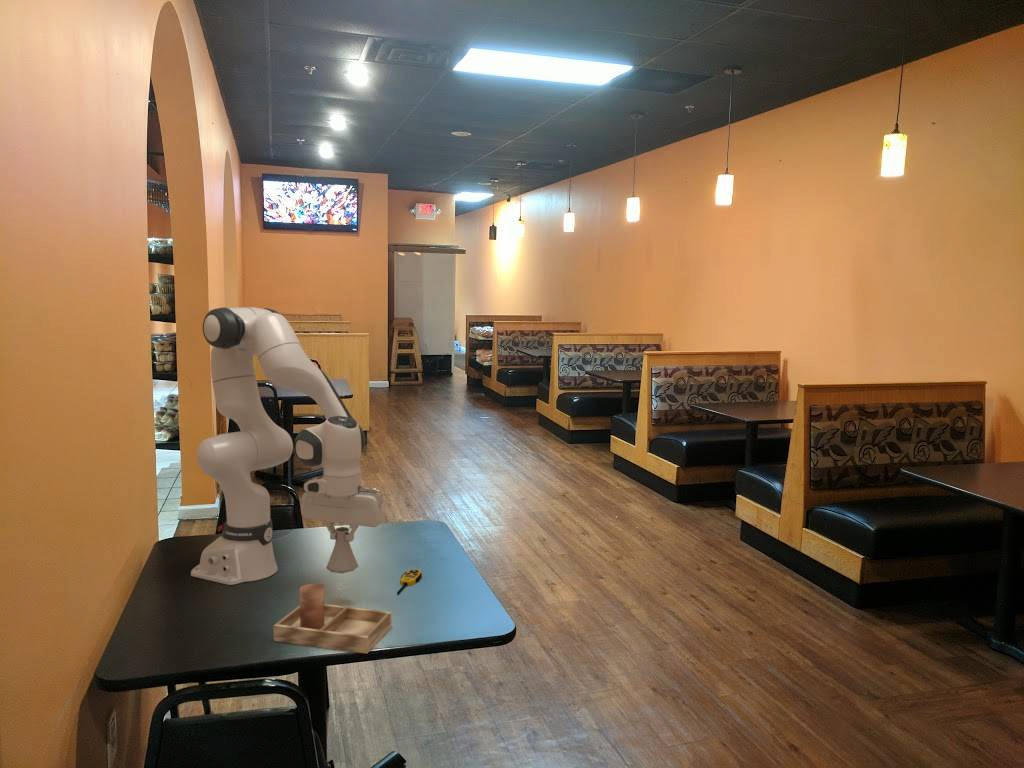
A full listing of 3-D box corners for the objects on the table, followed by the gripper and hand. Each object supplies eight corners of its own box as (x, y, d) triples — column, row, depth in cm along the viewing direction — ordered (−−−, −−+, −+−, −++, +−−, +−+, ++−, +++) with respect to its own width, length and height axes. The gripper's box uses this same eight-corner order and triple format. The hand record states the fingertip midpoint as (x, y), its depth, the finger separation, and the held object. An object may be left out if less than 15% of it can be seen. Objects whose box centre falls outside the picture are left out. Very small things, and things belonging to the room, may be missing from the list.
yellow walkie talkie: (425, 568, 196) (406, 589, 181) (425, 575, 196) (406, 597, 182) (408, 567, 197) (388, 588, 182) (408, 573, 197) (388, 595, 182)
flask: (342, 576, 171) (341, 536, 169) (320, 569, 175) (320, 530, 173) (363, 567, 177) (363, 528, 175) (342, 560, 181) (342, 521, 179)
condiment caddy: (273, 640, 157) (272, 596, 156) (304, 615, 169) (303, 574, 168) (367, 653, 152) (366, 608, 150) (391, 626, 164) (391, 584, 163)
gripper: (387, 485, 173) (387, 540, 175) (311, 477, 178) (311, 530, 180) (376, 492, 167) (376, 549, 169) (297, 483, 172) (297, 539, 174)
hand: (342, 539), depth 175 cm, fingers closed on flask, 3 cm apart
